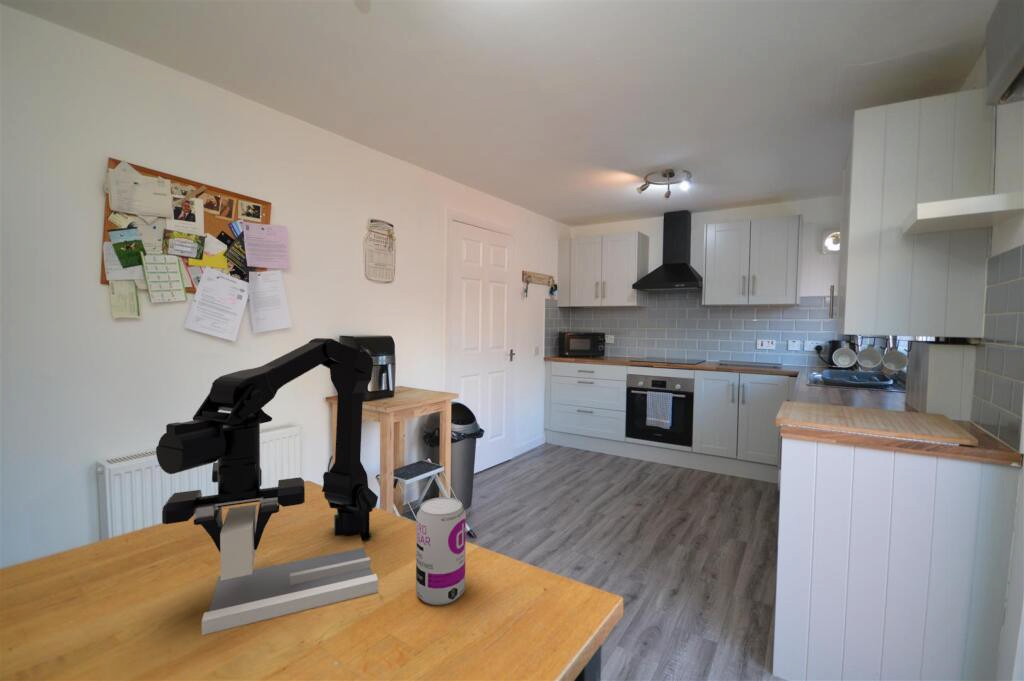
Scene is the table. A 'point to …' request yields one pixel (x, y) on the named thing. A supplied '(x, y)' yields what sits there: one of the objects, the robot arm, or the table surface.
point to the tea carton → (238, 542)
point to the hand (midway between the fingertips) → (239, 551)
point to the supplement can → (440, 550)
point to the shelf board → (289, 589)
